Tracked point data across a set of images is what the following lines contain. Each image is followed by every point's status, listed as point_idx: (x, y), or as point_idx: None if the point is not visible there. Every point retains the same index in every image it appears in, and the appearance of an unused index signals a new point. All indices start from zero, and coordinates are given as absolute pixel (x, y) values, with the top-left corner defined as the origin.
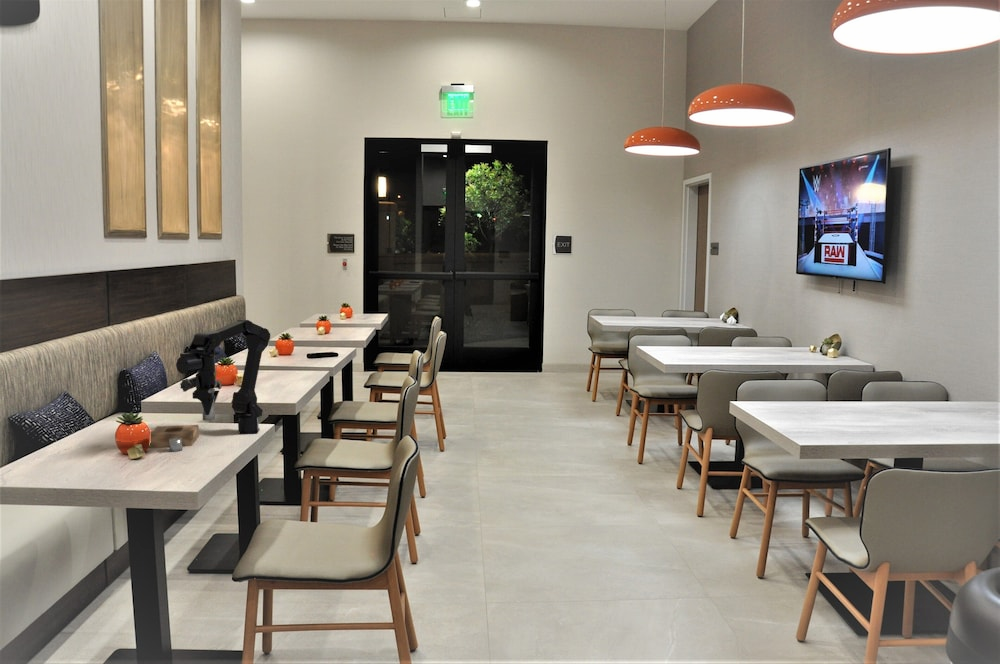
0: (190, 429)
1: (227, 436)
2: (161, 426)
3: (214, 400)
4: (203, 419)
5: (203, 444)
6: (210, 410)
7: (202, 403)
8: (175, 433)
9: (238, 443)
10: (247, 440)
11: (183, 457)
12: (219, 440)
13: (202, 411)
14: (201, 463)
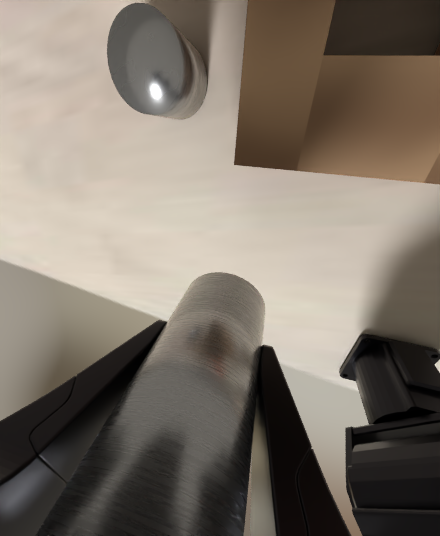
0: (350, 143)
1: (365, 297)
2: None
3: (253, 511)
4: (198, 280)
5: (265, 209)
6: None
7: (23, 414)
8: (256, 20)
9: None
10: (266, 339)
11: (84, 146)
12: (308, 268)
13: (182, 321)
14: (38, 218)
